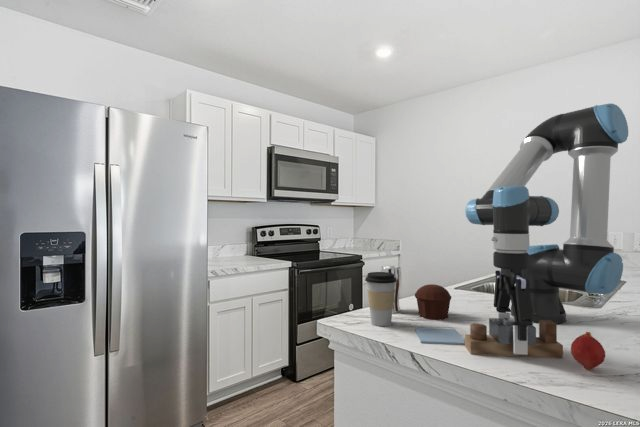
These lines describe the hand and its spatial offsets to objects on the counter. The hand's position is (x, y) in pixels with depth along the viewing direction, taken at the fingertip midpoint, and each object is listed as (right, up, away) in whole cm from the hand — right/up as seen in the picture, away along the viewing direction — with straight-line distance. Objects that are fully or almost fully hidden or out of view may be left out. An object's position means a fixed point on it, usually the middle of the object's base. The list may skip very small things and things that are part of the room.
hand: (511, 345), depth 84 cm
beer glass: (-21, -2, +37) cm, 43 cm away
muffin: (-9, -2, +30) cm, 32 cm away
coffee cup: (-27, -2, +23) cm, 36 cm away
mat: (-14, -2, +11) cm, 18 cm away
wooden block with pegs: (0, -1, 0) cm, 1 cm away
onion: (+11, -2, -10) cm, 15 cm away
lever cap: (0, +2, 0) cm, 2 cm away
